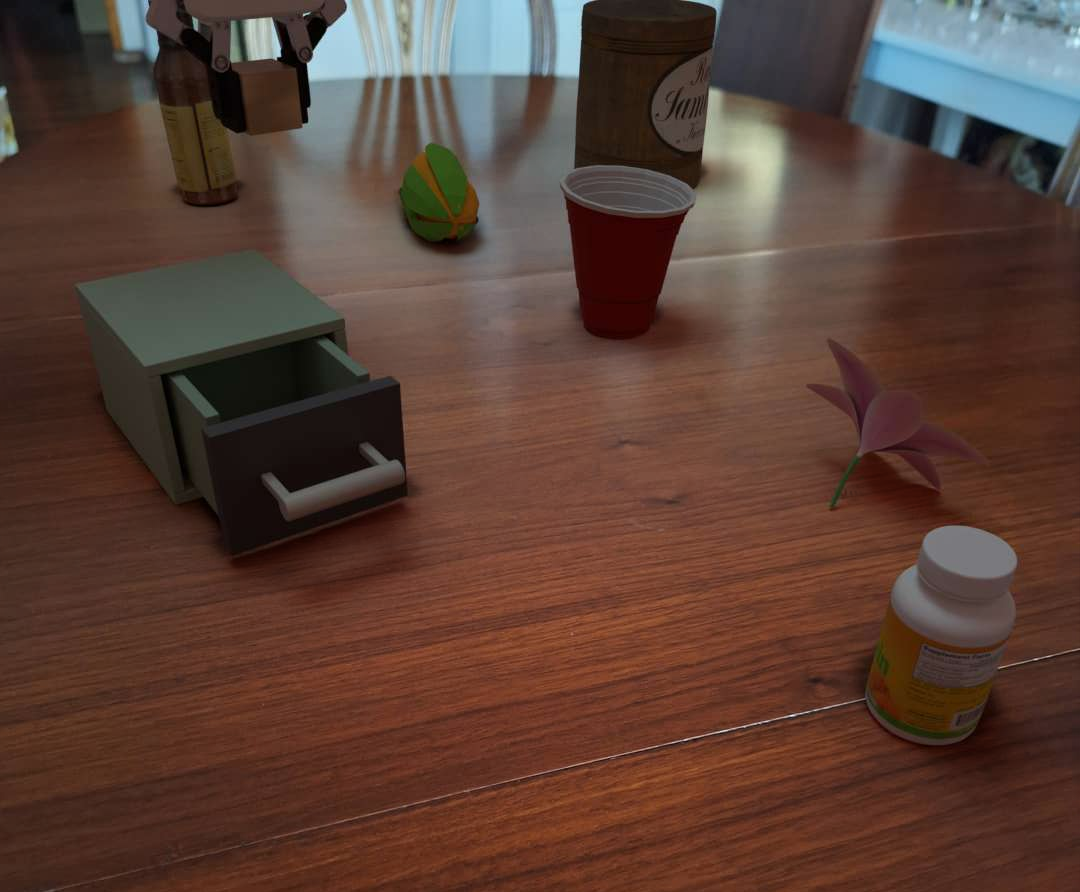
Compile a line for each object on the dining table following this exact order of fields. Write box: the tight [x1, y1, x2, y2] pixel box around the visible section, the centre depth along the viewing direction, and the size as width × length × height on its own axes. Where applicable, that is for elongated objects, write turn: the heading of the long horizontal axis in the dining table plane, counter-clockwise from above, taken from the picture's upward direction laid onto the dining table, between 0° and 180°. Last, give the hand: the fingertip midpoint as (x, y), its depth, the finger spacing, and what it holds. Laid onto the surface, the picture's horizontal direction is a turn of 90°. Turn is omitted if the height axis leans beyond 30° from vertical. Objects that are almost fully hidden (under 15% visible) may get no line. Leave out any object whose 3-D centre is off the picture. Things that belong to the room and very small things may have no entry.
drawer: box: [160, 334, 409, 557], centre depth 62 cm, size 18×11×8 cm, turn 35°
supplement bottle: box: [864, 525, 1018, 746], centre depth 48 cm, size 5×5×10 cm
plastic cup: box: [559, 165, 698, 340], centre depth 84 cm, size 11×11×12 cm
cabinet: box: [74, 248, 349, 506], centre depth 70 cm, size 15×13×10 cm
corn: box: [398, 142, 480, 243], centre depth 106 cm, size 7×8×20 cm
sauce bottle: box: [147, 0, 238, 206], centre depth 108 cm, size 7×6×20 cm
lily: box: [805, 337, 992, 510], centre depth 65 cm, size 12×12×10 cm
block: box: [231, 58, 303, 137], centre depth 73 cm, size 4×4×4 cm
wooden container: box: [573, 0, 718, 189], centre depth 116 cm, size 15×15×22 cm
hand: (264, 121), depth 74 cm, fingers closed on block, 4 cm apart
